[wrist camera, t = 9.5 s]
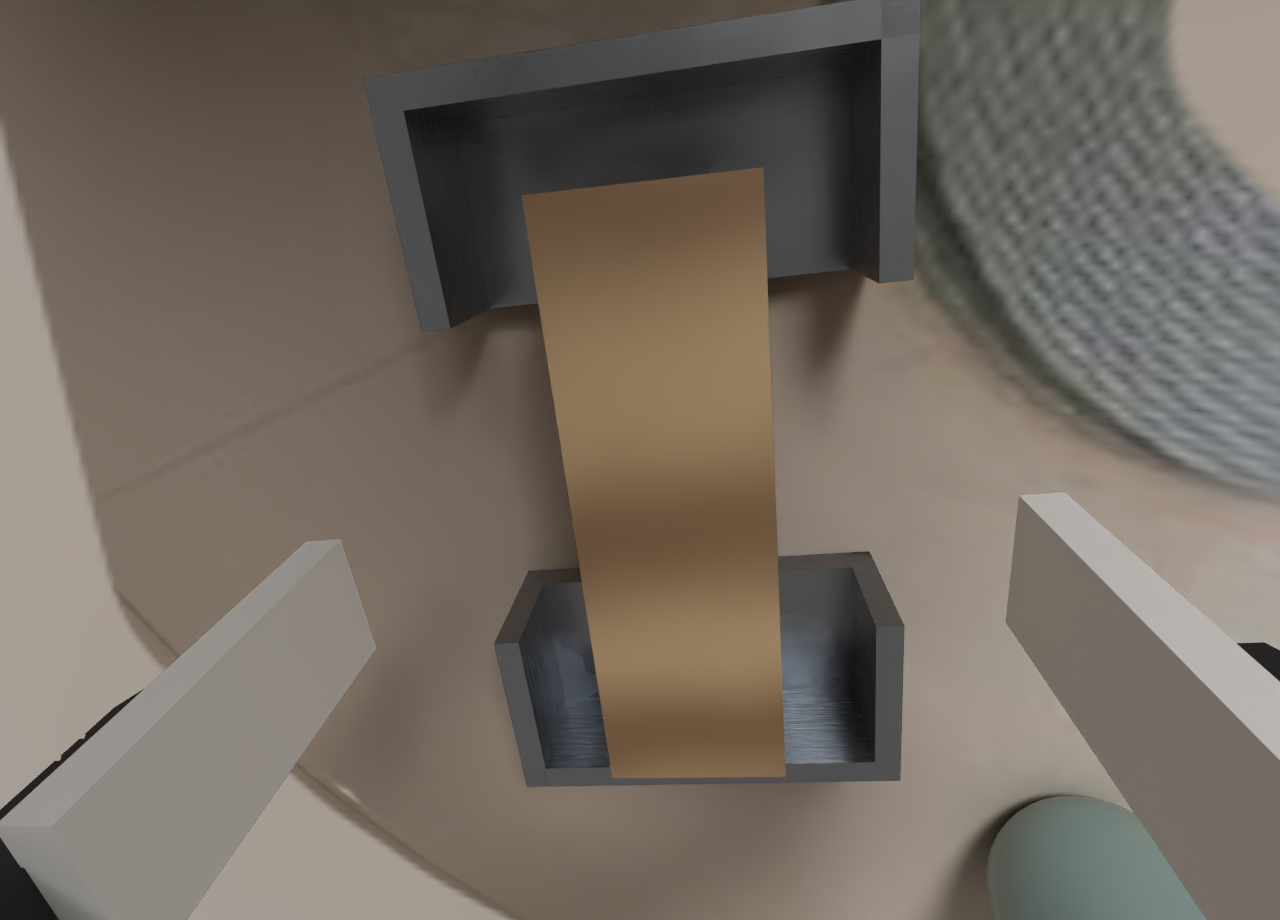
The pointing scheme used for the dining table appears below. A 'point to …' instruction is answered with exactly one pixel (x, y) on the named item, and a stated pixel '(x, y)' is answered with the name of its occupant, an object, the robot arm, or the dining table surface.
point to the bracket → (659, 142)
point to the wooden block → (669, 462)
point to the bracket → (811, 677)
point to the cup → (1081, 866)
